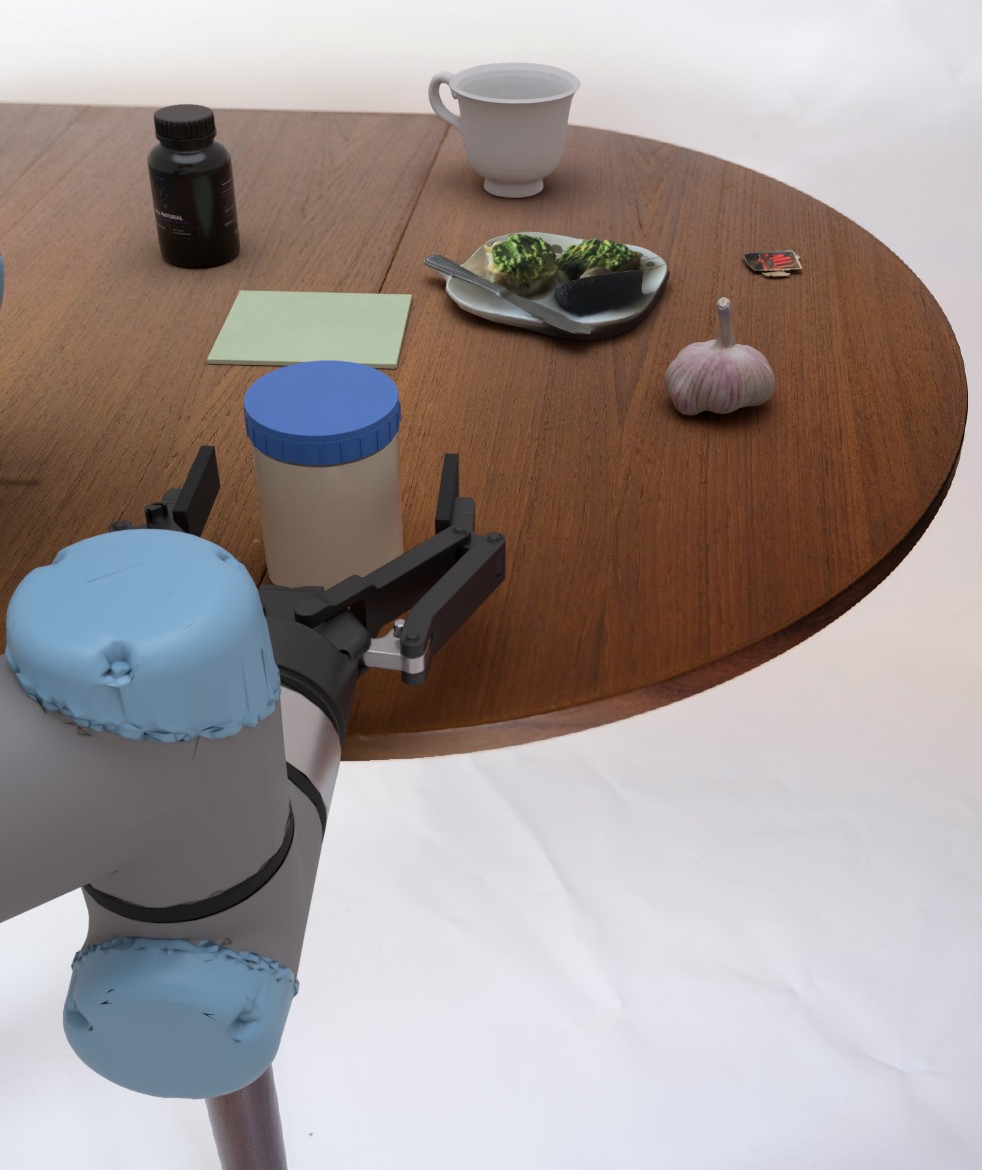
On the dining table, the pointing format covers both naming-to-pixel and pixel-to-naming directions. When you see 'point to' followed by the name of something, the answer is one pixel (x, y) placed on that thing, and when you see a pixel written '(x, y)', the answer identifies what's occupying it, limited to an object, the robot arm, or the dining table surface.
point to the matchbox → (773, 261)
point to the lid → (322, 412)
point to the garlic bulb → (719, 373)
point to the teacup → (509, 121)
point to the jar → (329, 517)
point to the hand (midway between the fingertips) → (331, 469)
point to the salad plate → (556, 284)
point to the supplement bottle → (192, 188)
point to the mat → (312, 328)
